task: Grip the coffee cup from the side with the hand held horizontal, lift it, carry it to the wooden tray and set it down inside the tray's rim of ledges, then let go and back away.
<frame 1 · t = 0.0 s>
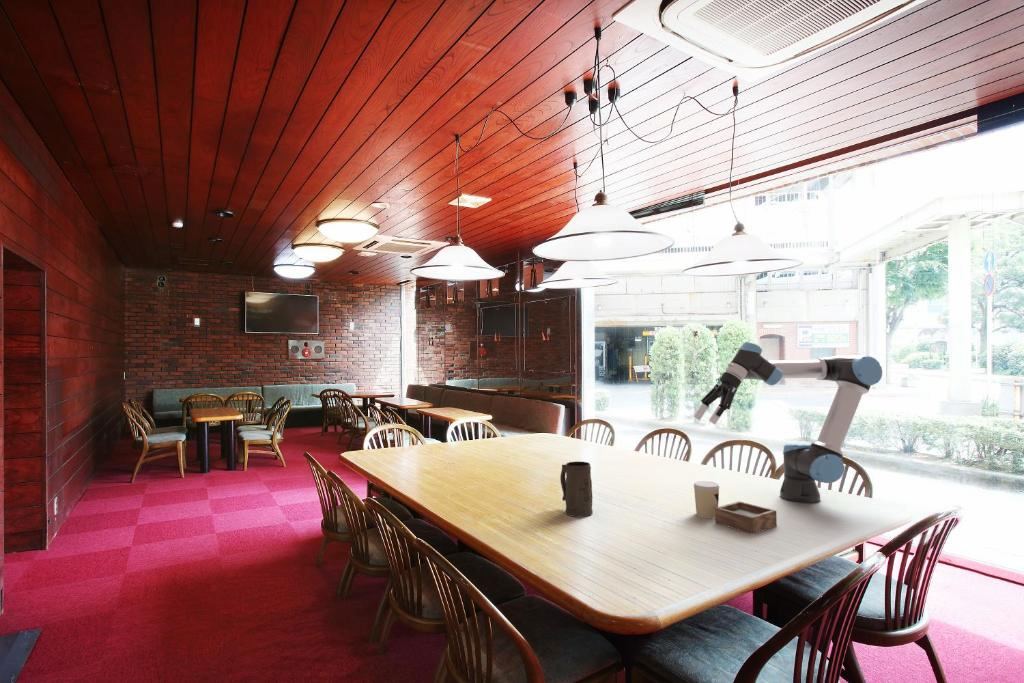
hand: (703, 420, 209), 36 cm above the table, tool tilted 35°, fingers open, 13 cm apart
wooden tray: (745, 524, 192), on the table
coffee cup: (707, 515, 203), on the table
beer stein: (574, 512, 210), on the table
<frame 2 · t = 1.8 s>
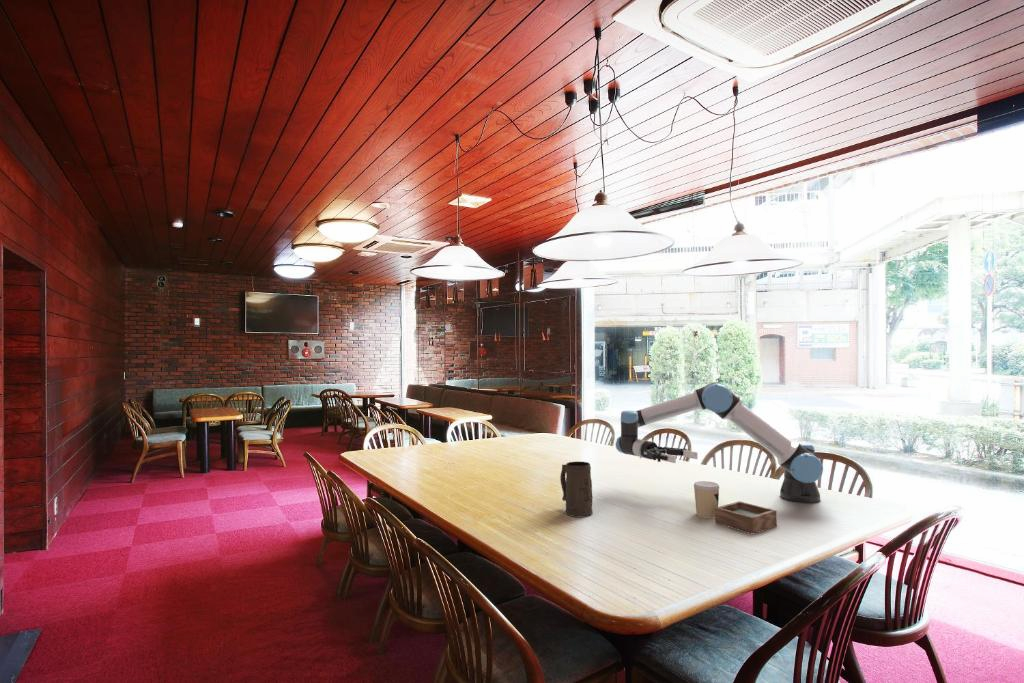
hand: (686, 457, 212), 21 cm above the table, tool horizontal, fingers open, 13 cm apart
nothing on the table moved.
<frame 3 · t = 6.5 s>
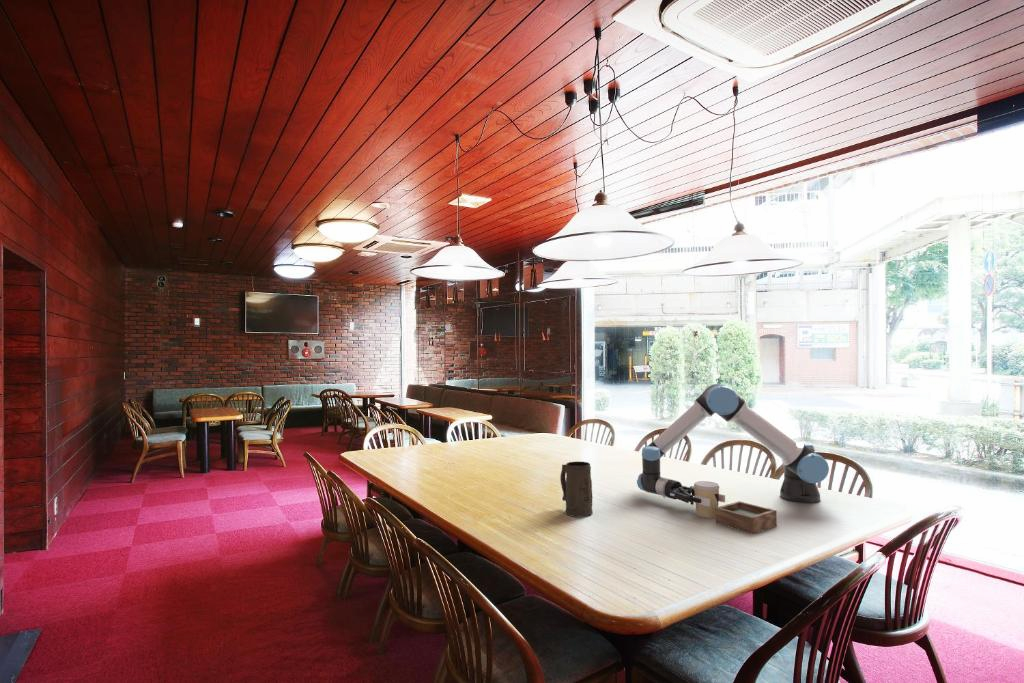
hand: (717, 500, 200), 7 cm above the table, tool horizontal, fingers closed on coffee cup, 9 cm apart
coffee cup: (707, 515, 203), on the table, touching gripper
everything else where it was.
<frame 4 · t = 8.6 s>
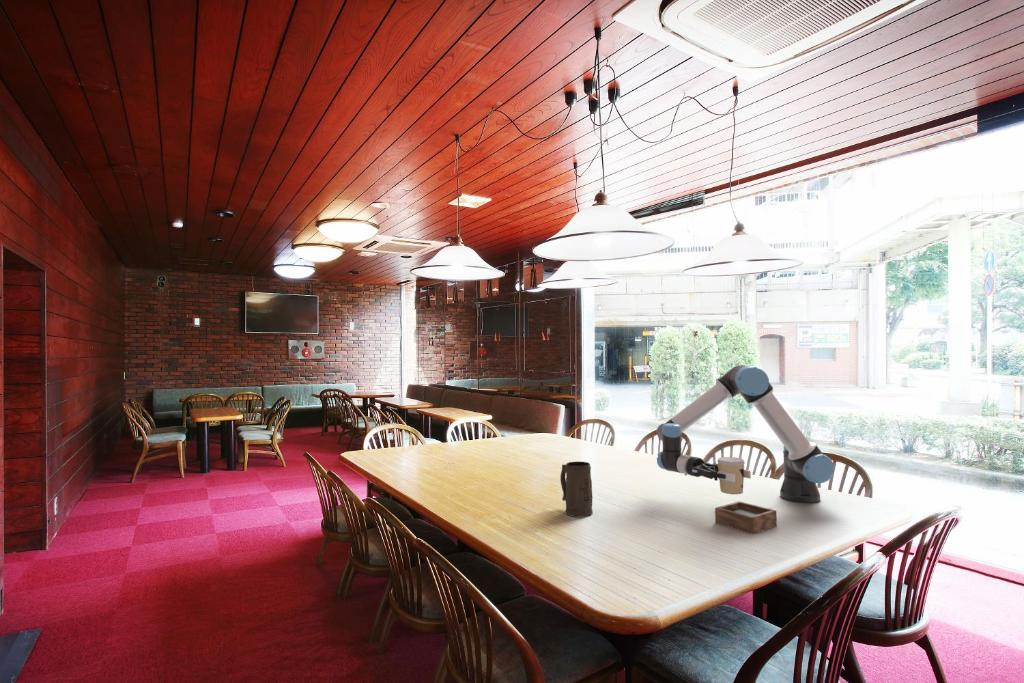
hand: (742, 476, 192), 18 cm above the table, tool horizontal, fingers closed on coffee cup, 9 cm apart
coffee cup: (731, 492, 195), point 11 cm above the table, touching gripper
everything else where it was.
when the fingers open (10 cm above the table, at t = 11.2 s): coffee cup moves 3 cm, point 4 cm above the table.
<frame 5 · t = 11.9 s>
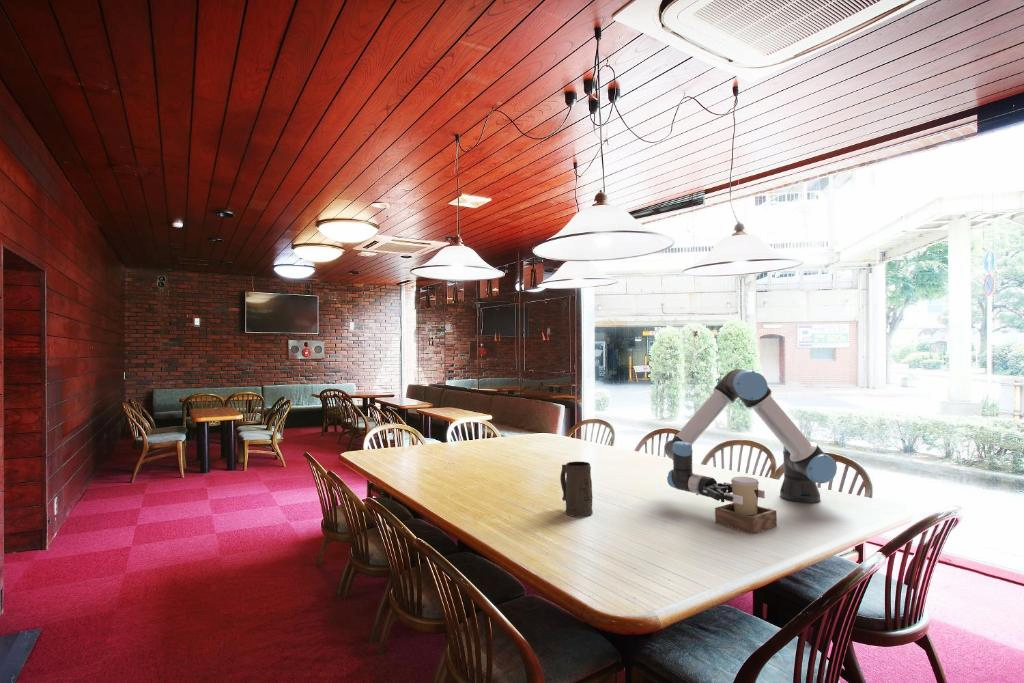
hand: (753, 497, 189), 10 cm above the table, tool horizontal, fingers open, 13 cm apart
coffee cup: (745, 512, 194), point 4 cm above the table, touching gripper
everything else where it was.
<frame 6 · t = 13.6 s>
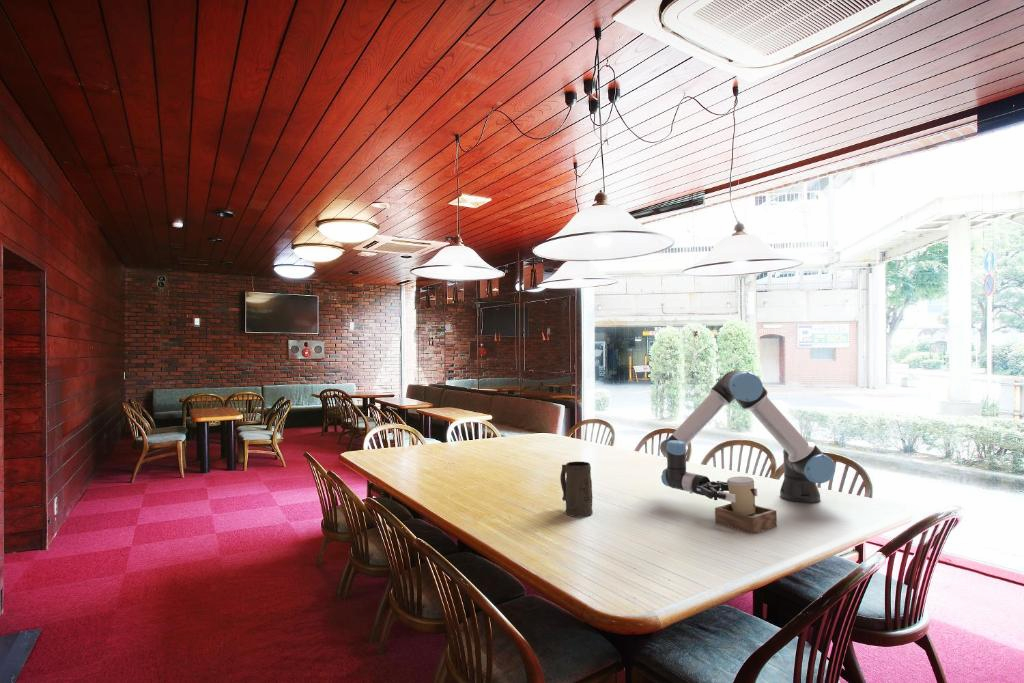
hand: (746, 495, 192), 11 cm above the table, tool horizontal, fingers open, 13 cm apart
coffee cup: (744, 512, 195), point 3 cm above the table, touching wooden tray, gripper
everything else where it was.
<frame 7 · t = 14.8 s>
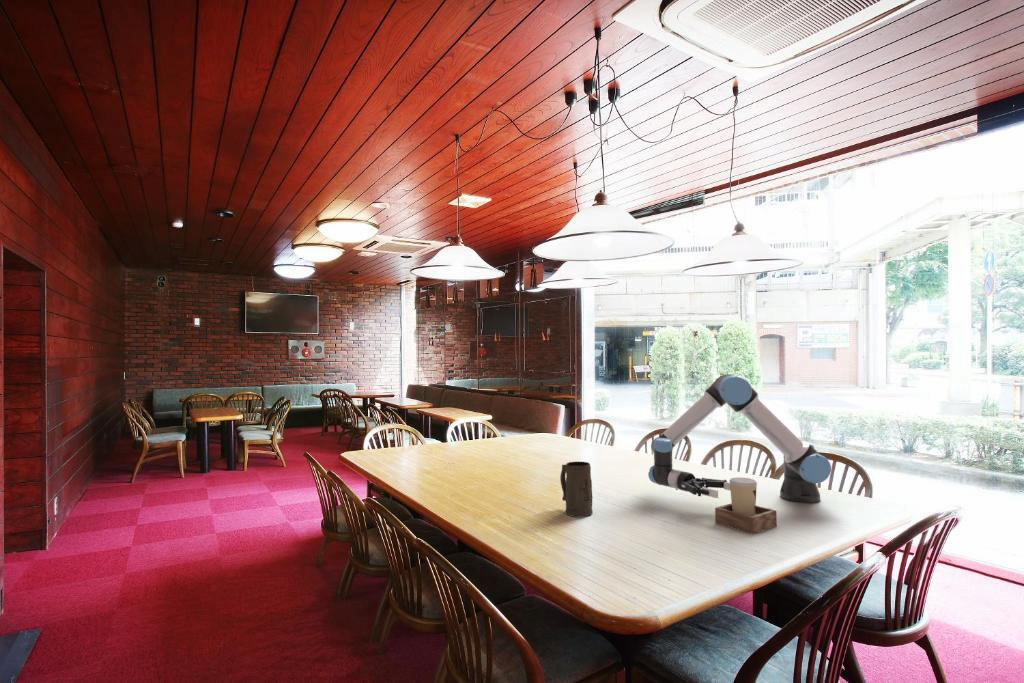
hand: (728, 491, 197), 11 cm above the table, tool horizontal, fingers open, 13 cm apart
coffee cup: (743, 513, 195), point 3 cm above the table, touching wooden tray
everything else where it was.
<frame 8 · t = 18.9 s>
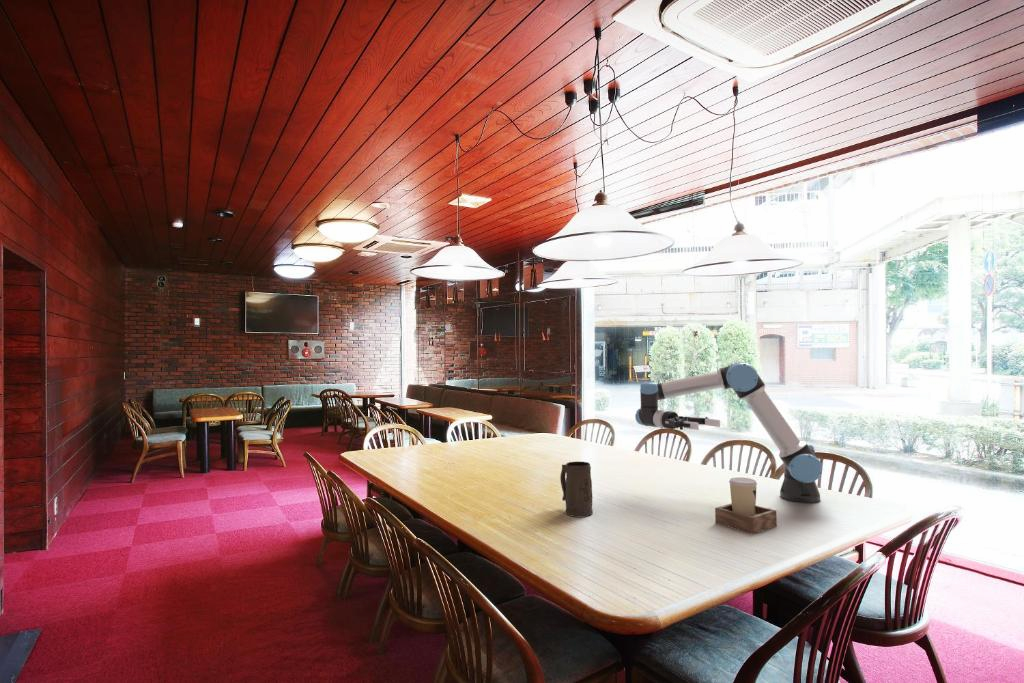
hand: (708, 424, 210), 34 cm above the table, tool horizontal, fingers open, 13 cm apart
nothing on the table moved.
at the end: coffee cup inside the target area on the wooden tray (3.0 cm from its centre), point 3.1 cm above the wooden tray's base; coffee cup tilted 0°; the gripper is holding nothing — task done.
